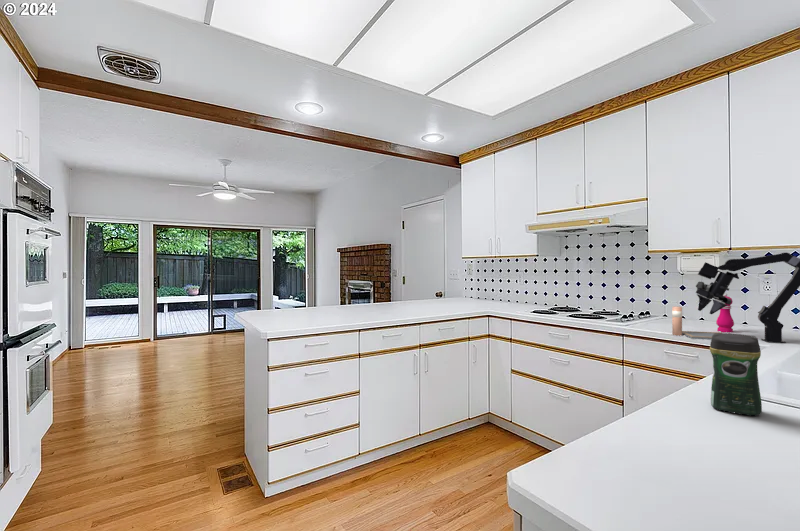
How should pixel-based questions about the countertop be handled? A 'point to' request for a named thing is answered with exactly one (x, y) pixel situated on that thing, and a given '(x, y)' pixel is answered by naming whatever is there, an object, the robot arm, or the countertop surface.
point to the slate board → (699, 334)
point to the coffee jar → (735, 373)
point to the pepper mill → (725, 318)
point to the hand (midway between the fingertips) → (704, 312)
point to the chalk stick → (677, 320)
